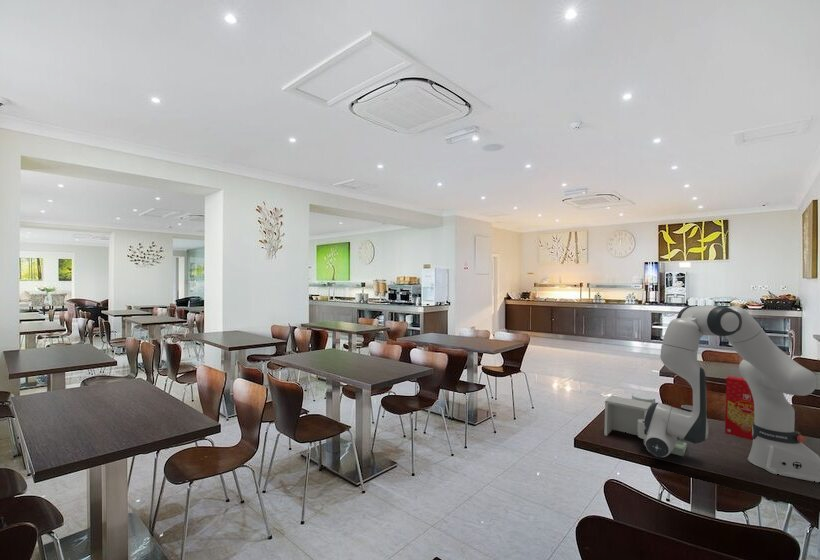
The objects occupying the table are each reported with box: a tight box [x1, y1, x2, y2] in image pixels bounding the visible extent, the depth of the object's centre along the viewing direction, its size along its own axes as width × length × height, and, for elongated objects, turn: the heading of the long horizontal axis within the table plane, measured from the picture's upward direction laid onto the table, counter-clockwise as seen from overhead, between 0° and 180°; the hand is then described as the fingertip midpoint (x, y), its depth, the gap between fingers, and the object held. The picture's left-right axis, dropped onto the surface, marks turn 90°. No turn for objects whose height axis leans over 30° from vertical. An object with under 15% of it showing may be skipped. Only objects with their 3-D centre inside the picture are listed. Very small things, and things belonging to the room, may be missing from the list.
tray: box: [670, 441, 688, 457], centre depth 163 cm, size 12×12×2 cm
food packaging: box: [724, 375, 754, 441], centre depth 177 cm, size 15×5×25 cm, turn 41°
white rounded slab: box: [631, 393, 656, 405], centre depth 185 cm, size 10×10×15 cm
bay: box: [603, 395, 652, 446], centre depth 174 cm, size 16×11×15 cm
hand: (668, 425), depth 164 cm, fingers closed on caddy, 5 cm apart
